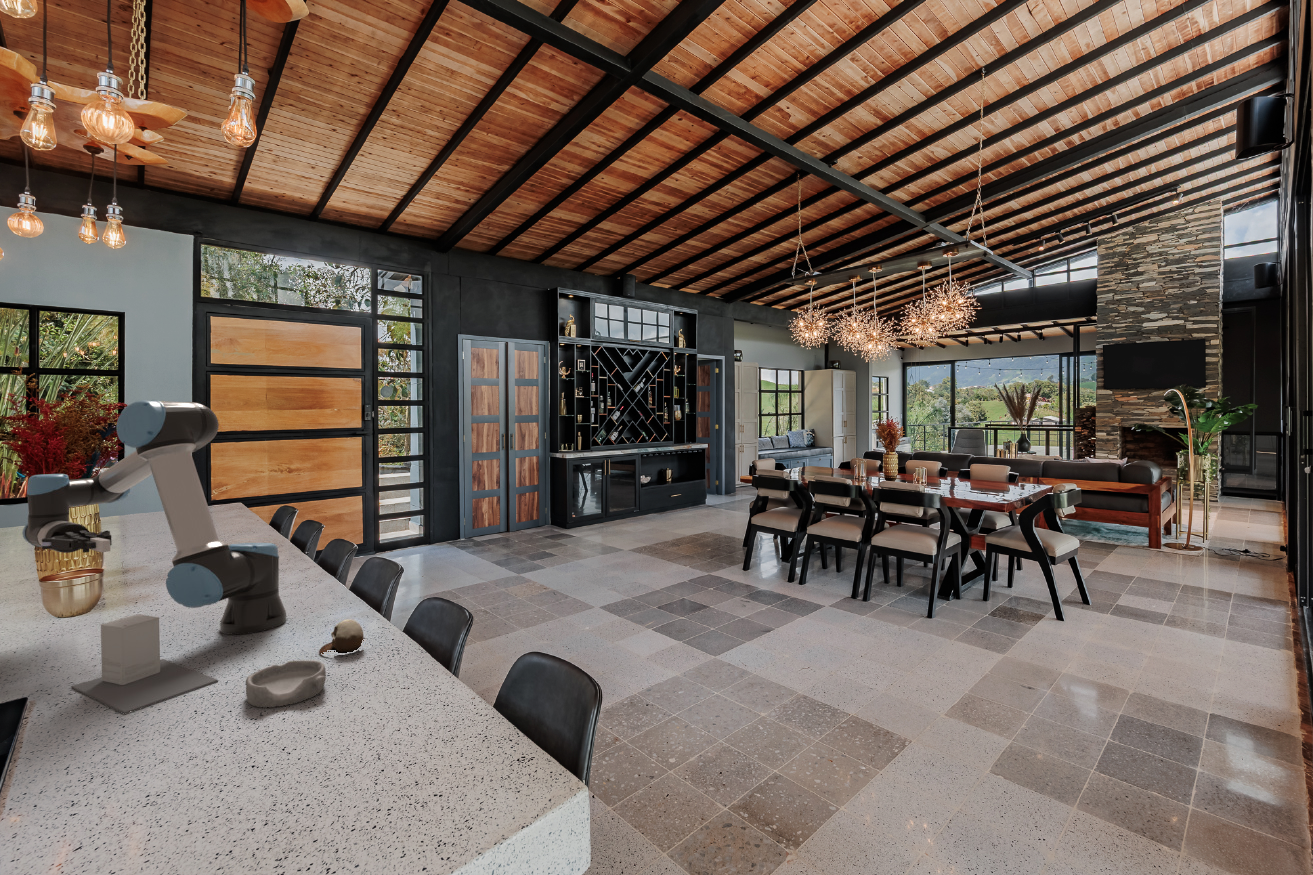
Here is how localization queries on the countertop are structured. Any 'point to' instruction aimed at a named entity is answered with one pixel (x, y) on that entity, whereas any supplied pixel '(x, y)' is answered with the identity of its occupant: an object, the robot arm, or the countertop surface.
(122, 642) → the supplement box
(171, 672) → the mat
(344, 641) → the skull
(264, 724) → the countertop surface
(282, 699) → the dish
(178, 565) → the robot arm
